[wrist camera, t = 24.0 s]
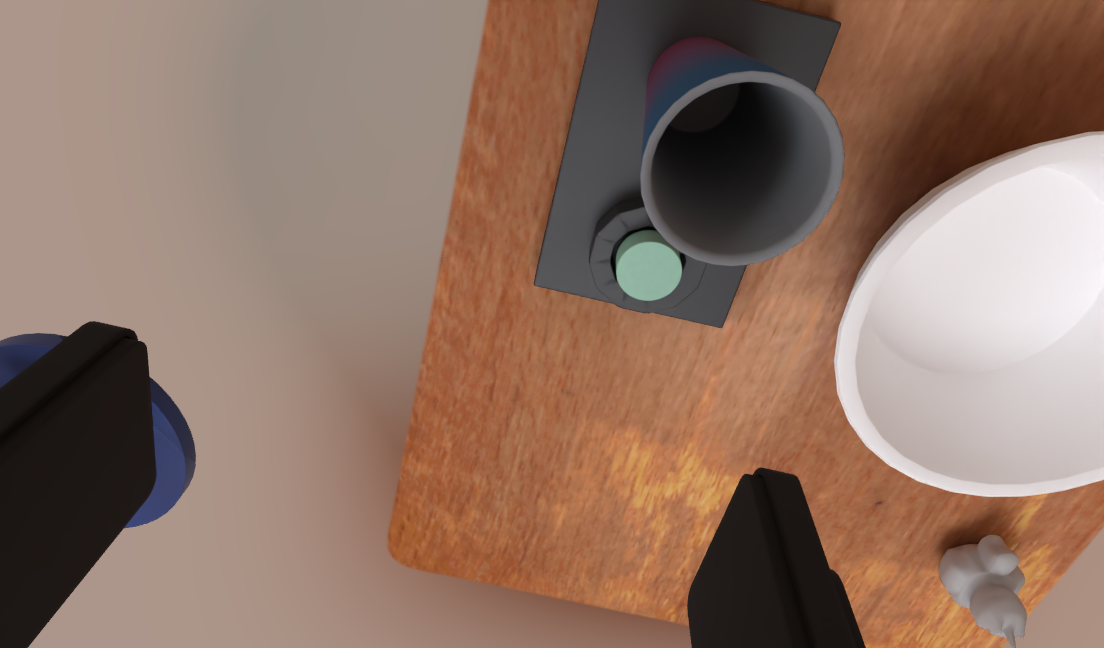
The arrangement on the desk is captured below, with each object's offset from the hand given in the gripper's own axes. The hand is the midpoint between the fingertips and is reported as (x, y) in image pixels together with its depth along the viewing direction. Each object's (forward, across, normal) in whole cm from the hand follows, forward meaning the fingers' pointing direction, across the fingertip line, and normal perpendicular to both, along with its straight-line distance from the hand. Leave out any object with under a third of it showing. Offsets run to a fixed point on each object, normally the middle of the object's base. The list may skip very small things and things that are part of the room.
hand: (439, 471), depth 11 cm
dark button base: (+32, -7, +3) cm, 33 cm away
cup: (+31, -7, -2) cm, 32 cm away
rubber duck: (+32, -38, +26) cm, 56 cm away
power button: (+29, -7, +8) cm, 31 cm away
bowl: (+32, -27, +5) cm, 43 cm away
